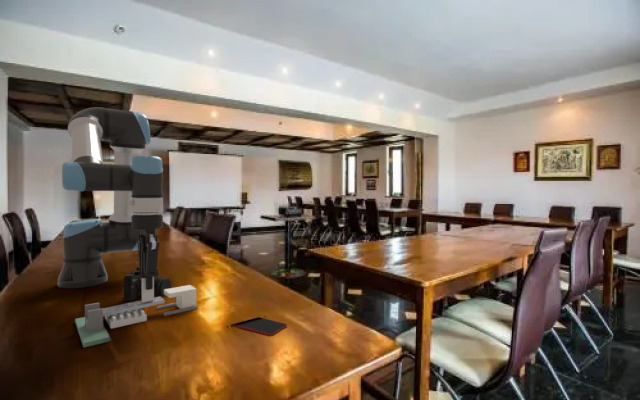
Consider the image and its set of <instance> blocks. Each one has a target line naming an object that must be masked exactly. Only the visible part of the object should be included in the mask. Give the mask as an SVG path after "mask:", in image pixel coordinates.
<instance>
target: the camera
mask: <svg viewBox="0 0 640 400" xmlns="http://www.w3.org/2000/svg"><path fill="white" fill-rule="evenodd" d="M130 271H131V272H129V273H128V274H124V277H123V287H122V288H123V294H122V297H123V301H124V302H132V301H134V300H136V299H138V298H139V299H140V297H141V298H142V279H141V277H140V276H141V273H140V272H139V266H137V267H136V268H135V270H130ZM172 286H173V285H172V280H171V279H170V278H168V277H164V276H162V277H160V276H159V269H158V268H157V274H156V276H154V297H160V296H161V297H165V296H166V295H165V294H164V289H170V288H172Z"/></svg>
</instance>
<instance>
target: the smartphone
mask: <svg viewBox="0 0 640 400" xmlns="http://www.w3.org/2000/svg"><path fill="white" fill-rule="evenodd" d="M229 326H231V327H235V328H238V329H241V330H246V331H250V332H252V333H256V334H257V333H258V334H260V335H264V336H269V337H273V336H274V335H276V334H277V333H279V332H280V331H282V330H284V329H285V328H287V326H288V325H287V323H284V322H280V321H277V320H272V319H268V318H264V317H260V316H257V317H254V318H251V319H247V320H244V321H243V320H242V321H240V322H235V323H231V324H229Z"/></svg>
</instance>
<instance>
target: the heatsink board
mask: <svg viewBox="0 0 640 400" xmlns="http://www.w3.org/2000/svg"><path fill="white" fill-rule="evenodd" d="M100 304H101V303H100V302H95V303H89V304H84V317H77V318H75V320H74V323H75V325H76V326H75V327H76V329H77V333H78V335H79V338H80V341H81V345H82V347H83V348H87V347H88V348H89V347H92V346H96V345H100V344H105V343H108V342H112V340H113V339H112V338H111V336H110V334H109V332H108V331H107V329H106V327H105V325H104V317H105V321H106V323H107V324H108V326H109V328H110V329H116V328H120V327H124V326H128V325H133V324H138V323H142V322H143V323H144V322H147V321H148V317H147V316H148V315H147V314H146V313H145V311H144V309H143V308H140V309H135V310H131V311H126V312H122V313H117V314H113V315H108V316H104V317H103V307H101V308H100ZM172 307H177V306H176V302H172V303H167V304H163V305H162V304H161V305H157V306H156V310H162V309H167V308H172ZM196 309H198V305H196V306H192V307H187V308H183V309H180V308H179V309H174V310H169V311H165V312H163V316H164V317H167V316H170V315H174V314H179V313H183V312H188V311H193V310H196Z"/></svg>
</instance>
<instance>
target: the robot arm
mask: <svg viewBox="0 0 640 400" xmlns="http://www.w3.org/2000/svg"><path fill="white" fill-rule="evenodd" d="M150 128H151V127H150V123H149V120H148V117H147V116H146V115H145V114H144V113H141V112H136V111H132V110H131V111H130V110H124V109H115V108H108V107H107V108H106V107H102V106H101V107H99V106H98V107H97V106H96V107H94V106H93V107H88V108H85V109H82V110H80V111H78V112H76V113H75V114H74V115H73V116H72V117H71V118H70V119H69V120H68V124H67V133H68V135H69V137H70V138H71V161H67V162H64V163H63V164H62V165H61V166H62V167H61V180H62V182H61V183H62V184H61V185H62V188H63V190H66V191H75V192H76V191H77V192H108V191H109V192H113V213H112V214H110V216H109V217H108V222H103V220H102V218H93V219H92V218H90V219H83V220H78V221H73V222H69V223H67V224H65V225H64V228H63V236H62V239H63V265H62V267H61V270H60V273H59V275H58V278H57V287H58V288H61V289H81V288H89V287H94V286H95V287H96V286H99V285H102V284H104V283H106V282H108V280H109V279H108V273H107V269H106V268H105V264H104V262H103V254H110V253H120V252H121V253H122V252H133V251H137V253H138V254H137V255H138V267H139V272H140V273H141V276H140V277H141V279H142V297H141V300H142V302H147V301H152V300H154V298H155V296H154V276H156V274H157V269H158V257H159V248H160V241H158V235H157V234H156V230H157V229H161V228H162V227H163V226H164V215H163V214H161V213H163V212H164V197H163V196H164V195H163V193H164V192H163V187H164V186H163V183H164V182H163V179H164V178H163V174H164V173H163V172H164V167H163V159H162V158H161V157H160V156H156V155H155V156H154V155H153V156H152V155H142V153H143V152H144V151H145V150H146V145H151V144H150V143H151V129H150ZM101 141H104V142H106V141H107V142H109V147H110V148H111V149H112V150H113V152H114V159H113V161H114V162H113V164H112V163H104V159H103V150H102V143H101Z"/></svg>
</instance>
